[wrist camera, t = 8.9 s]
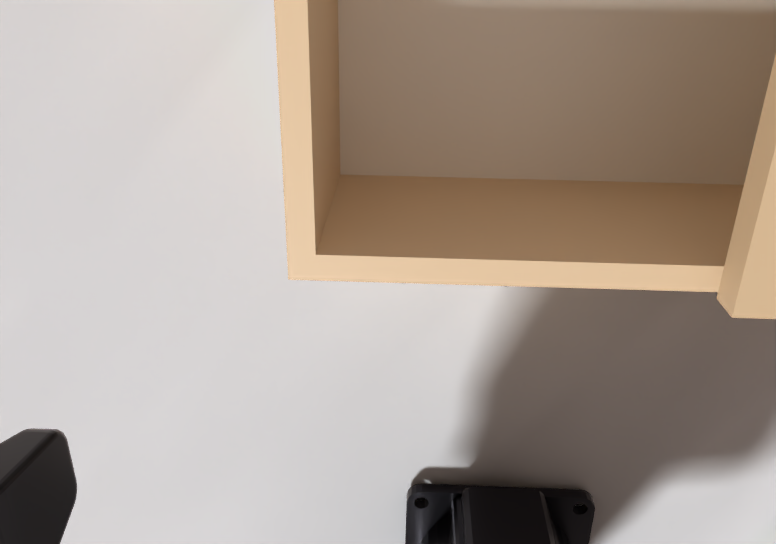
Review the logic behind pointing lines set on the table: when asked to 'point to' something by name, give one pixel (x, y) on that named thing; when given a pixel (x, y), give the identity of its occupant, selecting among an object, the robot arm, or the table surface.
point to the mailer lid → (755, 227)
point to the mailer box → (518, 139)
